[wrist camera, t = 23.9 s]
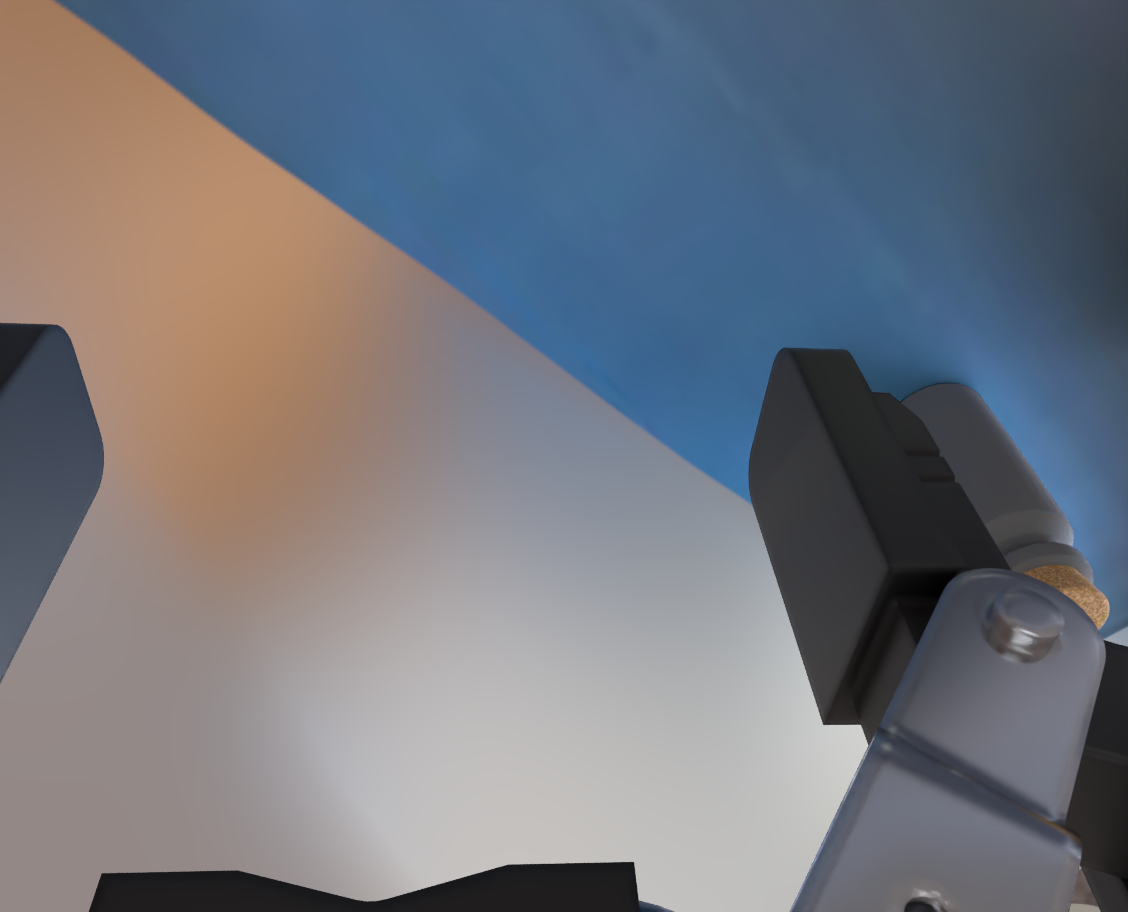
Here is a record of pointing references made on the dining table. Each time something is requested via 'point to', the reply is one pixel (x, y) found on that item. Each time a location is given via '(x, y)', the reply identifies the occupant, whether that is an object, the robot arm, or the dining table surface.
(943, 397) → the bottle
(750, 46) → the dining table surface
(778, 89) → the dining table surface
